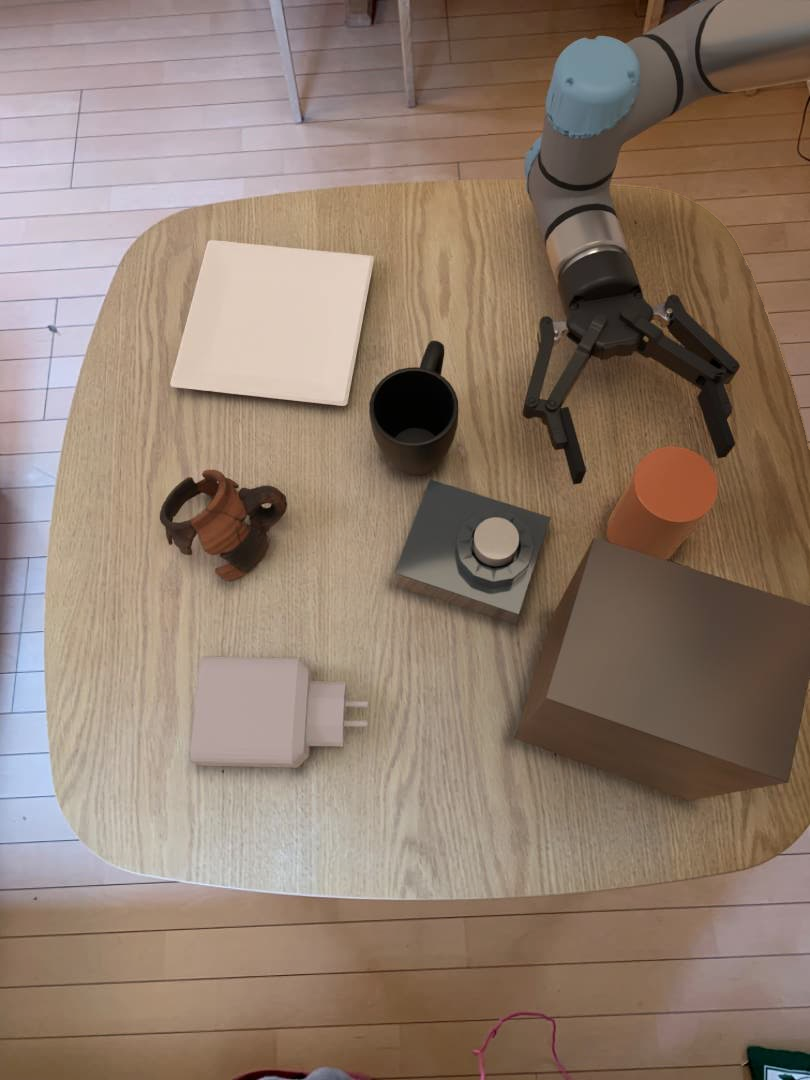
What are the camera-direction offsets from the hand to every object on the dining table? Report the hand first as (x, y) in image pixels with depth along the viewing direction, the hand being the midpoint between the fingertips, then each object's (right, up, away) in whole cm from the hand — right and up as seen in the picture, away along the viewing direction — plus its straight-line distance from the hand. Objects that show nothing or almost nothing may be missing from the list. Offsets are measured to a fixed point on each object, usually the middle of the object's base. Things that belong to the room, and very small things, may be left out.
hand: (653, 465), depth 76 cm
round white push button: (-14, -7, +1) cm, 16 cm away
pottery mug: (-39, -6, +8) cm, 41 cm away
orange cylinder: (+1, -6, +6) cm, 9 cm away
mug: (-21, +4, +11) cm, 24 cm away
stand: (-3, -22, +1) cm, 22 cm away
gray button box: (-16, -9, +6) cm, 19 cm away
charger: (-33, -23, +2) cm, 40 cm away
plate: (-36, +16, +16) cm, 43 cm away
